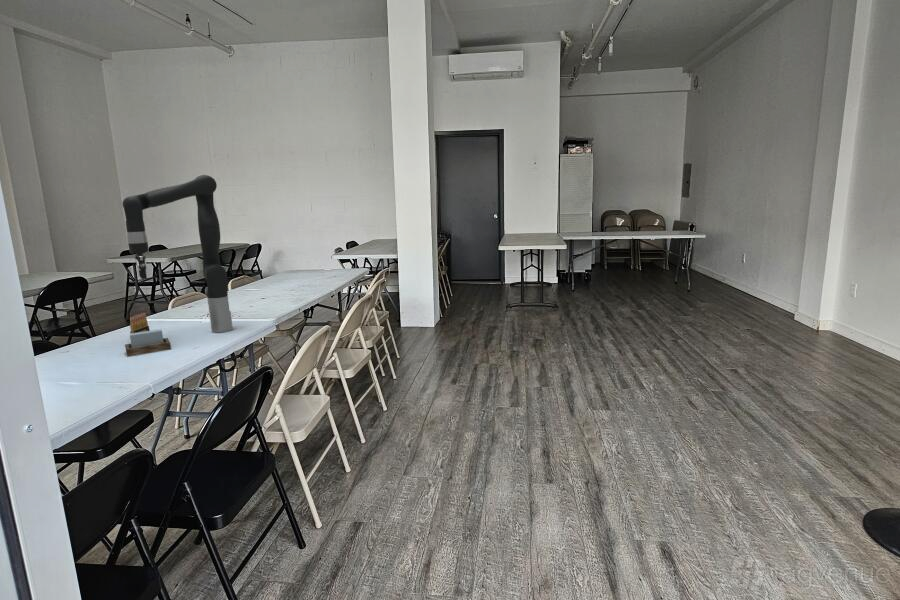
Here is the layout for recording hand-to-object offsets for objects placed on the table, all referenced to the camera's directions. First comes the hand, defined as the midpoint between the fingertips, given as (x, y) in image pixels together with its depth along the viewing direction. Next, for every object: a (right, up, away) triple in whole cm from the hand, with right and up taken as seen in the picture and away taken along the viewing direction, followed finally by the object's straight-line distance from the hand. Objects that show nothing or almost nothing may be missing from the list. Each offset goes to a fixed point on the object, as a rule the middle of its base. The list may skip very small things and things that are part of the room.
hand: (143, 277), depth 230 cm
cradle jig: (+7, -32, -8) cm, 34 cm away
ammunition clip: (-8, -29, +12) cm, 32 cm away
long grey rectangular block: (+7, -31, -8) cm, 33 cm away
